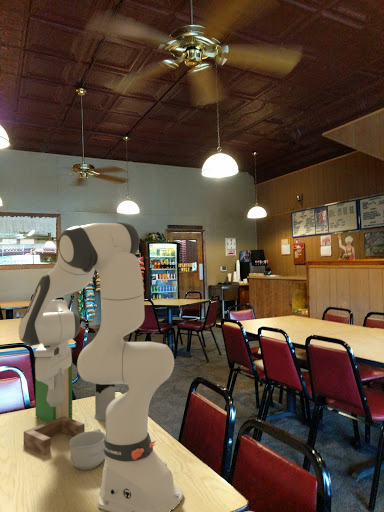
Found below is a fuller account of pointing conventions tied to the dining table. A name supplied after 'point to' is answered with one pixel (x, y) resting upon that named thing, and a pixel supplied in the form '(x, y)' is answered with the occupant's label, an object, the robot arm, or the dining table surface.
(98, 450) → the teacup
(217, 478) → the dining table surface
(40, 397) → the hardback book
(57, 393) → the salt shaker
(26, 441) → the walnut holder
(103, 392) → the tall mug
